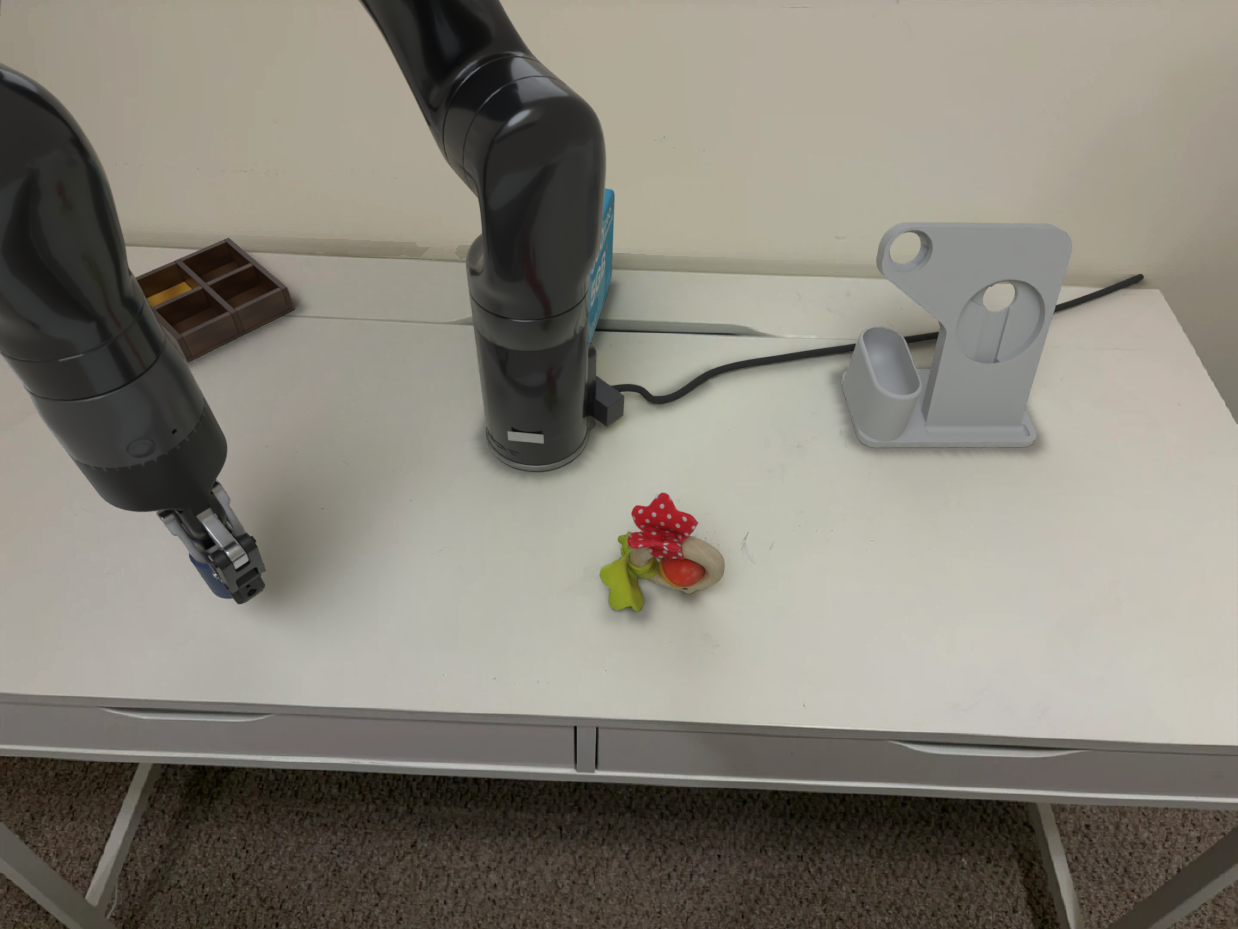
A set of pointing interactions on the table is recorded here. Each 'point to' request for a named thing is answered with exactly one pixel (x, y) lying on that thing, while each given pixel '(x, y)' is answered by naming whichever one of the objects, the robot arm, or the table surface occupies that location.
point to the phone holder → (960, 337)
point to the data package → (602, 264)
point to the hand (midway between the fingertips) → (234, 575)
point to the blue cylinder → (210, 578)
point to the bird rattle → (661, 555)
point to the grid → (213, 297)
